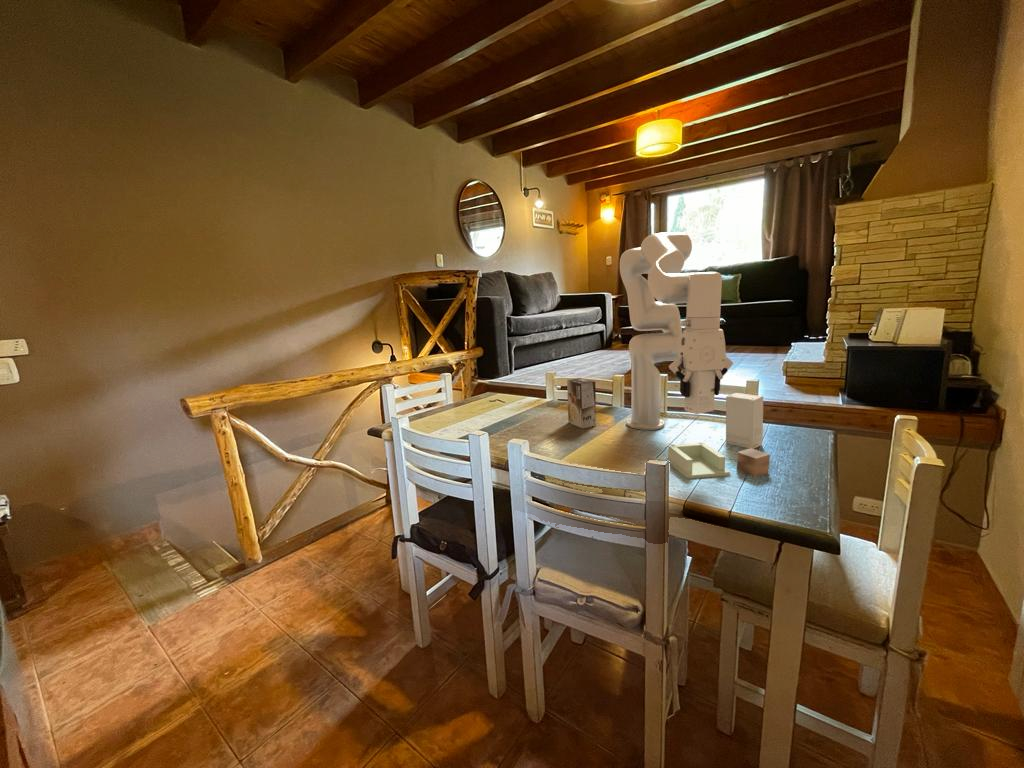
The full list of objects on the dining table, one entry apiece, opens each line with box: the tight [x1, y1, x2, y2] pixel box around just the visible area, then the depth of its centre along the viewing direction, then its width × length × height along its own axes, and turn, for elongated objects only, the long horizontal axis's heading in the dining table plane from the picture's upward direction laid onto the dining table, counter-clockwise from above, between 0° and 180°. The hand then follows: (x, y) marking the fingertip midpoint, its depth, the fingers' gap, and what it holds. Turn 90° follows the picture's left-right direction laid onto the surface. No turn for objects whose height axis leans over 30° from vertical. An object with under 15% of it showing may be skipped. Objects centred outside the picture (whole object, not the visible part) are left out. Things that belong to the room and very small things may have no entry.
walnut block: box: [736, 448, 771, 478], centre depth 106 cm, size 5×5×5 cm
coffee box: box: [566, 377, 597, 430], centre depth 149 cm, size 9×6×16 cm
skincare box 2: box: [725, 392, 764, 449], centre depth 123 cm, size 8×6×15 cm
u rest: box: [665, 442, 731, 479], centre depth 110 cm, size 12×11×4 cm
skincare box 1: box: [684, 371, 716, 415], centre depth 106 cm, size 6×4×12 cm
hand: (699, 394), depth 107 cm, fingers closed on skincare box 1, 6 cm apart
